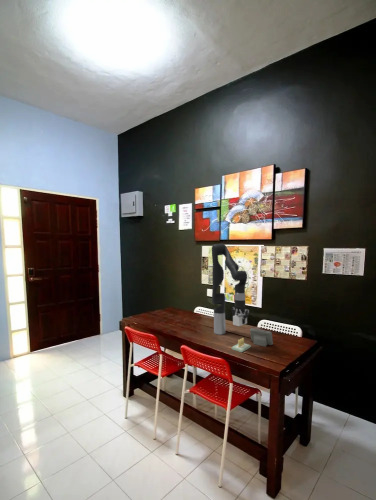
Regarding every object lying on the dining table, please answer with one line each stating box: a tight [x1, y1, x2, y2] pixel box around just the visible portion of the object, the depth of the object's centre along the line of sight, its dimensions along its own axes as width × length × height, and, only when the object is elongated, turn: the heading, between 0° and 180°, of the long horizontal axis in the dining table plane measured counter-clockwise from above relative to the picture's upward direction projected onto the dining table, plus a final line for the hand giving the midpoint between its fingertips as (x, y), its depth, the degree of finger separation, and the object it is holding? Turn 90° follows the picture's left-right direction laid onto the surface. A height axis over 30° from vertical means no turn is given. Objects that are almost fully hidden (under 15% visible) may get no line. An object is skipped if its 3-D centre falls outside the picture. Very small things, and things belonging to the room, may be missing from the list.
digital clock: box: [249, 327, 274, 347], centre depth 178 cm, size 16×9×11 cm, turn 45°
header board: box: [231, 337, 252, 353], centre depth 170 cm, size 12×8×6 cm, turn 136°
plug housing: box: [232, 313, 248, 327], centre depth 170 cm, size 10×5×7 cm, turn 135°
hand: (240, 323), depth 170 cm, fingers closed on plug housing, 5 cm apart
